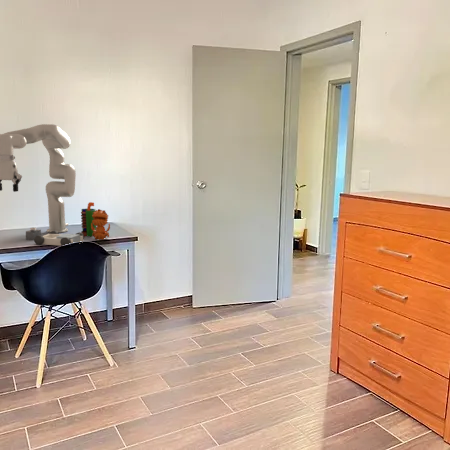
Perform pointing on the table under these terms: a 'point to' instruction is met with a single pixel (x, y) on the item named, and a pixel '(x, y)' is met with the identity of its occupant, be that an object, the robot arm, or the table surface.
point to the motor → (87, 220)
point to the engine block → (32, 233)
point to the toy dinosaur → (100, 224)
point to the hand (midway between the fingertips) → (7, 191)
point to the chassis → (58, 238)
